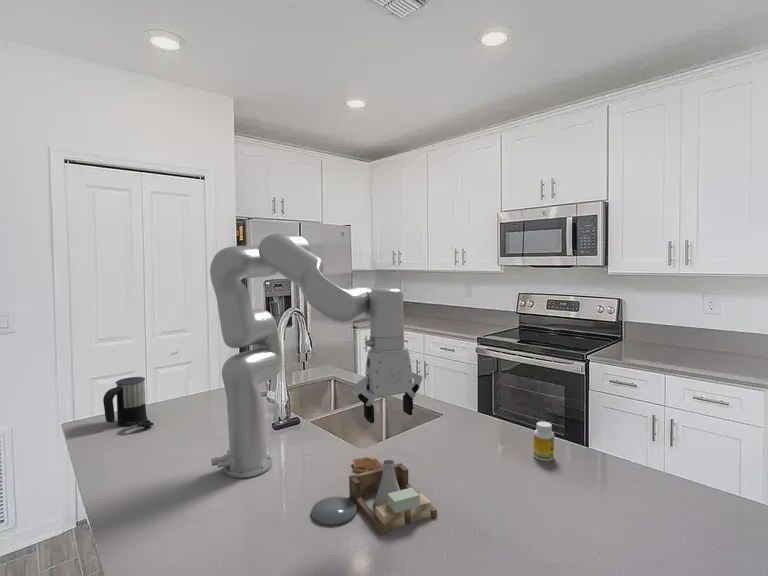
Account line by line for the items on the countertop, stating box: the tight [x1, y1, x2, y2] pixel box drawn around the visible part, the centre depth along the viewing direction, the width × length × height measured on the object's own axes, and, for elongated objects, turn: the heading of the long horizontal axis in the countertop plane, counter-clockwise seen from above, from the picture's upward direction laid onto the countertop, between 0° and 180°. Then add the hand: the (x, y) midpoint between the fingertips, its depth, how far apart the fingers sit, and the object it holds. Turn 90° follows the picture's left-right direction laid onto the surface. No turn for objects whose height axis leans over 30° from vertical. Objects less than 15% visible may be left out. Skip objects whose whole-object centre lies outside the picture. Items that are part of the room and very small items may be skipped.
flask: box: [373, 458, 401, 507], centre depth 104 cm, size 7×7×10 cm
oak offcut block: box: [374, 503, 406, 532], centre depth 96 cm, size 5×4×4 cm
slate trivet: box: [311, 496, 358, 527], centre depth 101 cm, size 10×10×1 cm
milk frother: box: [102, 376, 154, 429], centre depth 154 cm, size 14×16×15 cm
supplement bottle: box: [533, 421, 555, 462], centre depth 126 cm, size 5×5×10 cm
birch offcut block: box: [405, 493, 432, 524], centre depth 99 cm, size 5×4×4 cm
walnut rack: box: [348, 462, 438, 536], centre depth 103 cm, size 14×17×5 cm
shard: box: [352, 456, 383, 473], centre depth 119 cm, size 11×8×2 cm
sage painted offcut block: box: [388, 487, 420, 513], centre depth 97 cm, size 6×4×2 cm, turn 114°
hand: (389, 417), depth 102 cm, fingers open, 9 cm apart
